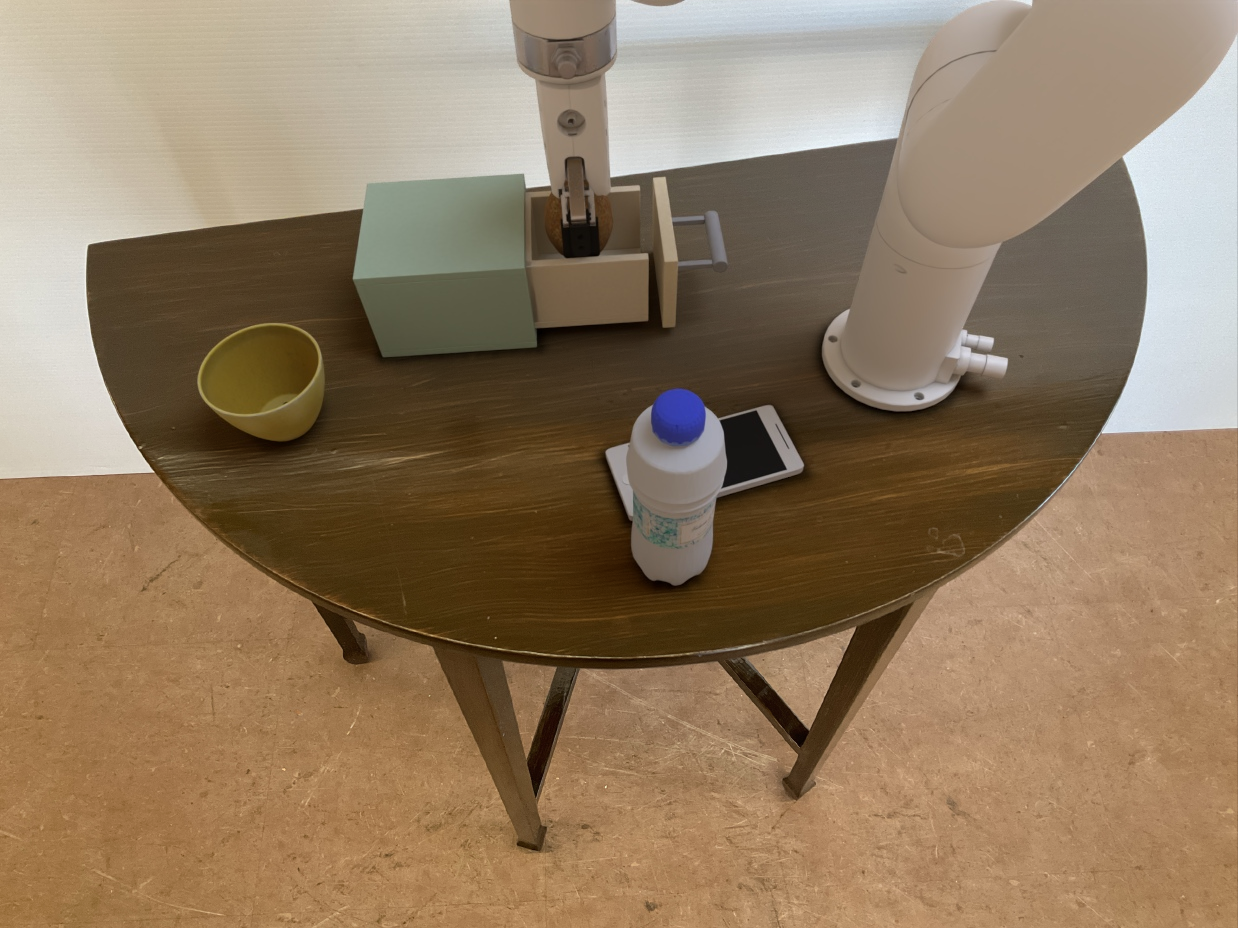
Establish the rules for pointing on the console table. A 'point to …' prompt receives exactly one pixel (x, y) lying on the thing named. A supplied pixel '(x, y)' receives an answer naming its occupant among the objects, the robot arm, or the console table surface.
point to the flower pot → (265, 380)
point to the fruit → (555, 209)
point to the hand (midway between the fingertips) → (580, 227)
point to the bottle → (675, 485)
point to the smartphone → (734, 454)
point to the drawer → (612, 264)
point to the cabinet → (445, 265)
